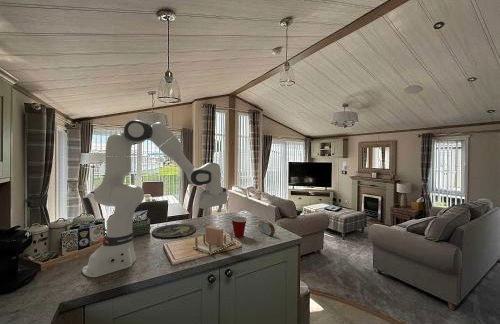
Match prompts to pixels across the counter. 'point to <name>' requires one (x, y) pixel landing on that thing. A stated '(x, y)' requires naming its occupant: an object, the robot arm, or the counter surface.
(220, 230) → the terracotta tile
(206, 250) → the dish rack
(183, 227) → the decorative plate
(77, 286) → the counter surface
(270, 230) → the tin
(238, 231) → the plastic cup
